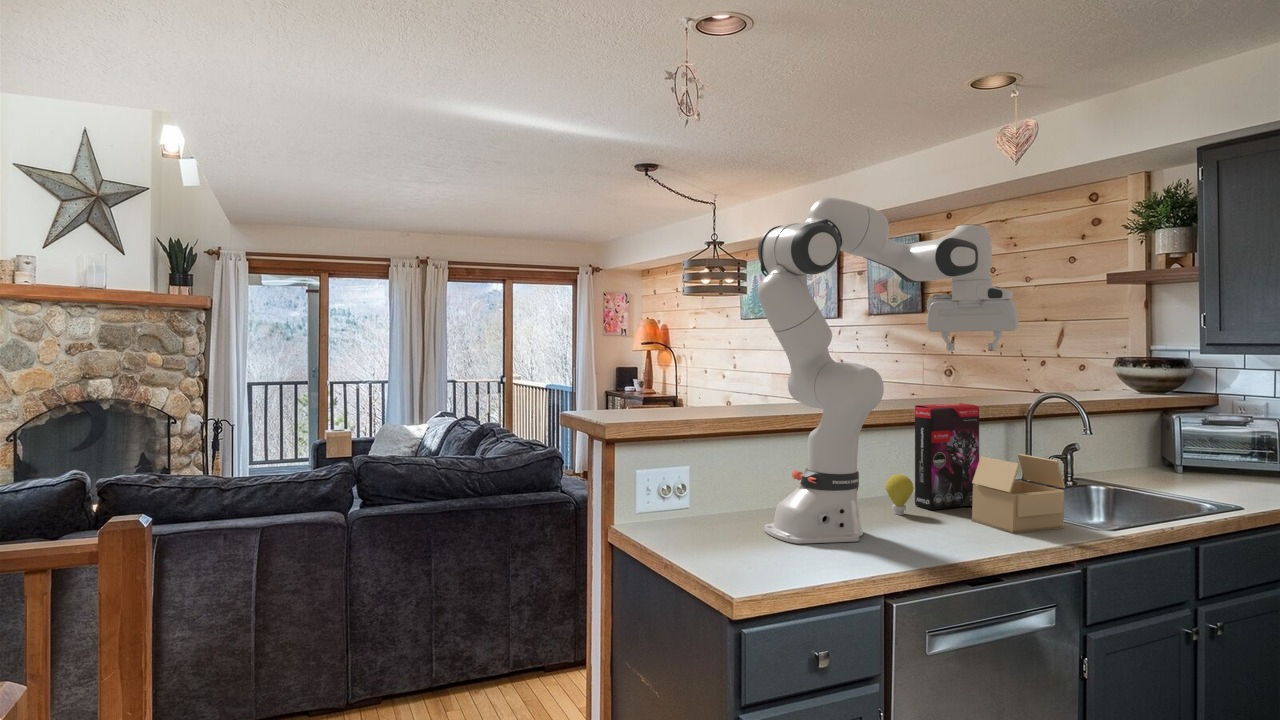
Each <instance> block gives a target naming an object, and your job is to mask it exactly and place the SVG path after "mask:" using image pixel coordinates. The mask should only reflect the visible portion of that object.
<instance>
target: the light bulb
mask: <svg viewBox="0 0 1280 720" xmlns="http://www.w3.org/2000/svg"><path fill="white" fill-rule="evenodd" d="M885 491H886V493H887V495H888V497H889V498H890V500H891V501H892V503H893V504H892V507H891V508H892V510H893V514H895V515H899V516H901V515H905V511H906V510H907V507H906V505H905V504H906V503H907V502H908V501H909V499H910V498H911V496H912V494H913V492H914V484H913V481H911V479H910V478H909V477H908V476H906V475H904V474H898V473H897V474H893V475H891V477H889V478H888V479H887V481H886V483H885Z"/></svg>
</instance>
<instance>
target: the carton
mask: <svg viewBox="0 0 1280 720" xmlns="http://www.w3.org/2000/svg"><path fill="white" fill-rule="evenodd" d="M971 506H972V507H971V508H972V509H971V512H972V513H971V522H973V521H974V523H976V522H977V523H976V524H980V525H983V524H984V526H986V525H987V526H986V527H989V526H990V528H993V529H996V530H999V531H1003V532H1007V533H1009V534H1013V535H1014V534H1020V533H1021V534H1024V533H1030V532H1031V533H1032V532H1039V531H1049V530H1056V529H1064V524H1065V523H1064V522H1065V521H1064V519H1065V518H1064V517H1065V490H1064V489H1060V488H1057V487H1056V488H1055V487H1053V486H1046V485H1044V484H1043V485H1041V484H1037V483H1035V482H1033V483H1032V482H1030V481H1029V482H1028V481H1026V480H1025V481H1024V480H1018V481H1017V480H1015V481H1014V484H1013V487H1012V490H1011V493H1010V492H1006V491H1002V490H998V489H994V488H989V487H985V486H981V485H977V484H974V485H973V501H972V505H971Z"/></svg>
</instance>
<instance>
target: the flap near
mask: <svg viewBox="0 0 1280 720" xmlns="http://www.w3.org/2000/svg"><path fill="white" fill-rule="evenodd" d="M1020 467H1021V465H1020V462H1019V463H1018V462H1014V461H1008V460H1003V459H998V458H993V457H987V456H983V455H980V456H979V463H978V466H977V469H976V472H975V475H974V478H973V481H972V483H973V484H977V485H981V486H985V487H989V488H994V489H998V490H1002V491H1006V492H1010V493H1011V490H1012V487H1013V484H1014V481H1016V478H1017V474H1018V471H1019V469H1020Z"/></svg>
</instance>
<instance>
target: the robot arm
mask: <svg viewBox="0 0 1280 720" xmlns="http://www.w3.org/2000/svg"><path fill="white" fill-rule="evenodd" d="M889 235H890V224H889V221H888V218H887V216H886V215H884V214H883V213H882V212H881V211H879V210H878V209H875V208H872V207H871V206H868V205H865V204H862V203H859V202H856V201H851V200H849V199H841V198H838V197H837V198H836V197H823V198H820V199H818V200H816V202H814V203H813V205H812V206H811V207H810V209H809V210H808V212H807V215H806V220H805V221H804V222H803V223H798V222H797V223H796V222H795V223H790V224H785V225H777V226H774V227H771V228H770V229H768V230H767V231H765V232H764V233H763V234H762V235H761V237H760V239H759V241H758V243H757V244H758V245H757V256H758V260H759V263H760V272H761V273H762V274H763V276H765V277H764V278H763V279H762V280H761V282H760V283H759V285H758V288H757V296H758V299H759V303H760V305H761V308H762V311H763V314H764V316H765V317H766V319H767V322H768V324H769V325H770V328H771V329H772V330H773V332H774V334H775V336H776V338H777V339H778V341H779V343H780V346H781V347H782V349H783V350H784V352H785V354H786V356H787V359H788V362H789V367H790V373H789V375H788V378H787V390H788V392H789V395H790V396H791V397H792V398H793V400H795V401H796V402H798V403H800V404H802V405H805V406H807V407H810V408H815V409H816V408H817V409H821V410H823V412H822V415H821V420H820V421H819V423H818V425H817V427H815V428H814V429H813V430H812V431H810V433H809V435H808V438H807V467H806V469H805V471H804V472H802V471H799V470H793V472H792V473H791V478H792V479H794V480H797V481H800V483H799V484H800V485H799V486H798V487H797V488H796V489H795V490H793V491H792V492H791V493H789V495H787V496H786V497H785V498H783V499H782V500H781V501H780V502H779V503H778V504H777V505H776V509H775V512H774V519H773V522H770V523H766V524H764V527H763V529H764V532H765V533H766V534H768V535H769V536H772V537H773V538H776V539H778V540H781V541H785V542H787V543H792V544H822V543H824V544H825V543H826V544H827V543H849V542H860V537H861V536H863V535H864V531H863V527H862V524H861V518H860V511H859V501H858V490H859V487H860V486H859V484H860V475H859V474H860V472H859V471H858V452H859V451H858V450H859V440H860V434H861V432H862V431H861V430H862V427H863V425H864V423H865V421H866V419H867V417H868V415H869V414H870V413H871V412H872V411H873V410H874V409H876V408H877V407H878V406H879V404H880V403H881V401H882V399H883V396H884V389H885V388H884V382H883V381H884V380H883V378H882V376H881V375H880V373H879V372H878V371H877V370H876V369H874V368H872V367H869V366H866V365H863V364H860V363H854V362H836V360H834V359H833V358H832V357H831V355H830V352H829V346H830V345H831V342H832V340H833V333H832V332H833V331H832V329H831V328H830V326H829V324H828V322H827V320H826V318H825V317H824V315H823V313H822V312H821V310H820V308H819V305H818V304H817V302H816V300H815V299H814V297H813V296H812V293H810V289H809V286H808V275H811V276H812V275H819V274H821V273H824V272H826V271H828V270H830V269H831V268H832V267H833V266H834V265H835V263H836V261H838V258H839V256H840V252H843V253H846V254H849V255H853V256H856V257H862V258H864V259H866V260H869V261H871V262H874V263H876V264H878V265H881V266H883V267H886V268H888V269H890V270H892V272H895V274H896V275H897V276H898V277H899V278H901V279H902V280H903V281H905V282H906V283H909V284H918V283H922V282H928V281H938V280H945V279H951V293H948V294H947V293H945V294H933V295H932V296H930V297H929V298H928V299H927V301H926V310H927V317H926V329H927V330H928V332H931V333H932V332H933V333H941V338H942V340H943V341H944V343H945V344H946V351H951V352H952V351H955V346H956V345H955V343H954V342H953V343H952V342H951V340H950V339H949V337H950V336H951V333H952V332H954V333H955V332H960V333H961V332H992V333H993V337H995V338H993V341H992V342H991V343H987V345H988V346H987V347H988V348H987V350H988V351H990V352H995V351H997V348H998V347H997V346H998V345H997V344H998V343H999V341H1000V339H1001V338H1002V337H1003V332H1015V331H1017V330H1018V328H1019V325H1020V323H1019V322H1020V321H1019V311H1018V307H1017V304H1016V303H1015V302H1014V301H1013V300H1012V299H1013V298H1014V292H1013V291H1012V290H1009V289H1006V288H1002V287H1000V286H994V285H993V280H992V279H993V278H992V274H991V266H992V263H993V245H992V238H991V234H990V231H989V229H988V228H986V227H985V226H984V225H983V226H982V225H979V224H971V223H969V224H968V223H967V224H965V223H964V224H961V225H957V226H956V227H955V229H954V230H953V231H951V232H950V233H948V234H946V235H944V236H942V237H940V238H935V239H930V240H923V241H918V242H917V241H914V242H906V243H903V244H902V243H899V242H898V241H895V240H892V239H890V238H889V237H890V236H889Z"/></svg>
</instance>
